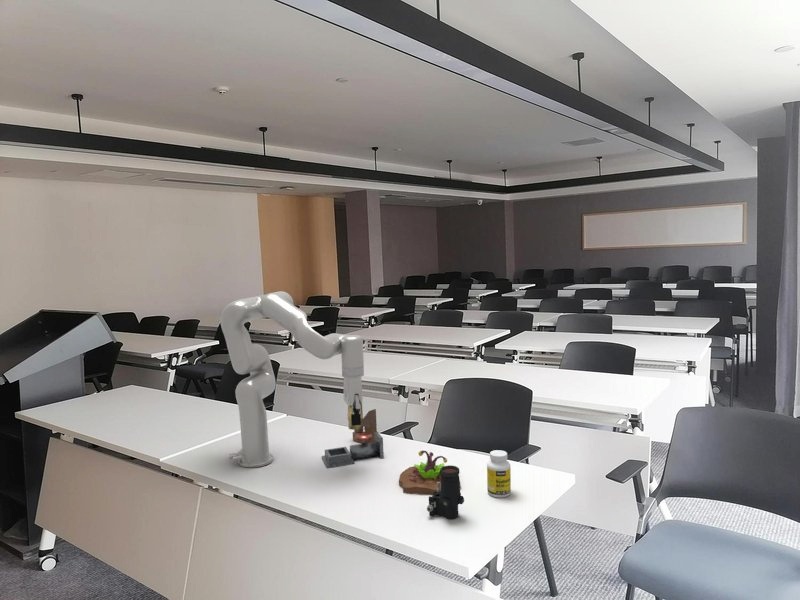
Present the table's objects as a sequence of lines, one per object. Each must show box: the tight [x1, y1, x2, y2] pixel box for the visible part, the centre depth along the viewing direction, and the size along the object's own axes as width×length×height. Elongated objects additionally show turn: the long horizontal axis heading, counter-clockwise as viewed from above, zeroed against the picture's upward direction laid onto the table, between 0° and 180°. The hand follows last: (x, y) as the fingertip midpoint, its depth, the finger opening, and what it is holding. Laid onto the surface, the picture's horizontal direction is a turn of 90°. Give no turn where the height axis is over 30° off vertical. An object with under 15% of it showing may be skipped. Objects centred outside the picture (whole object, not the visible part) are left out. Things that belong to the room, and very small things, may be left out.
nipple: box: [347, 403, 361, 431], centre depth 199 cm, size 5×5×8 cm
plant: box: [398, 450, 448, 496], centre depth 187 cm, size 20×20×11 cm
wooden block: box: [352, 404, 378, 444], centre depth 226 cm, size 4×11×18 cm, turn 46°
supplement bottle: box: [486, 449, 512, 498], centre depth 176 cm, size 7×7×13 cm
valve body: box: [321, 431, 385, 469], centre depth 210 cm, size 21×10×8 cm, turn 108°
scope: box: [426, 465, 465, 520], centre depth 164 cm, size 8×14×10 cm
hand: (354, 422), depth 199 cm, fingers closed on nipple, 4 cm apart
